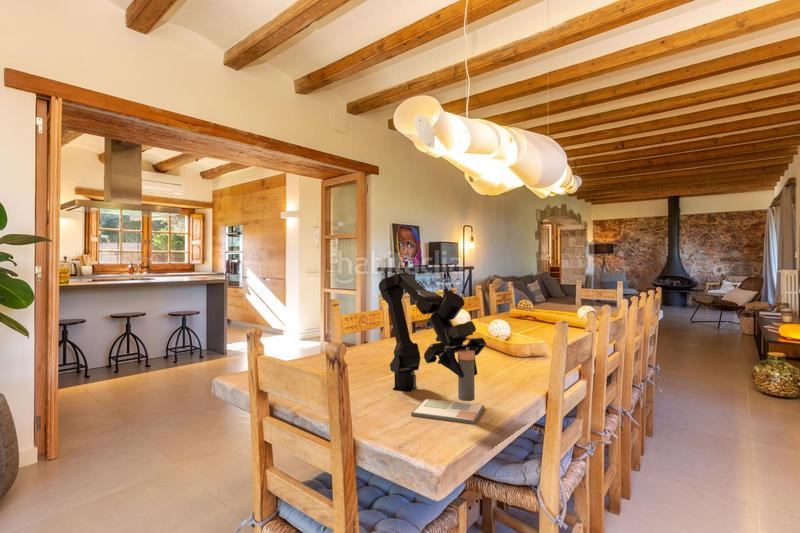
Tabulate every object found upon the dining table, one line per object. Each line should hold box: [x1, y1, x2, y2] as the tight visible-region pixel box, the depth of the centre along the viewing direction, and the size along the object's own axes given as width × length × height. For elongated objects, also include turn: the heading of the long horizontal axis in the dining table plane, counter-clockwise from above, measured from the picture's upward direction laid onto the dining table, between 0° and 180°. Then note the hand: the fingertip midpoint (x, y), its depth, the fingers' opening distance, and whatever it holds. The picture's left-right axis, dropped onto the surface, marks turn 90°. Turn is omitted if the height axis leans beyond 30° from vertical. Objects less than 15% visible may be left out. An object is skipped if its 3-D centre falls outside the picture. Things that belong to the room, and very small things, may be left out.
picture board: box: [410, 398, 485, 425], centre depth 118 cm, size 18×13×1 cm
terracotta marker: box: [457, 349, 476, 402], centre depth 113 cm, size 5×5×13 cm
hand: (469, 375), depth 112 cm, fingers closed on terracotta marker, 4 cm apart
